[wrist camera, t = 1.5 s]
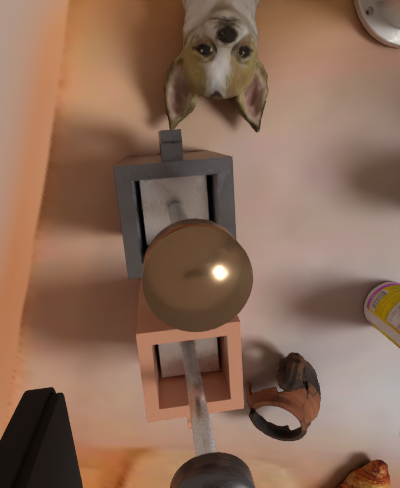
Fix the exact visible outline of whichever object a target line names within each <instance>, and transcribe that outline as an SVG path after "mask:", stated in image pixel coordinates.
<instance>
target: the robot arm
mask: <svg viewBox="0 0 400 488" xmlns="http://www.w3.org/2000/svg"><path fill="white" fill-rule="evenodd" d="M354 5H355V8H356V12H357V15H358V17H359V19H360V21H361V23H362V25H363V27H364V28H365V29H366V30H367V32H368V33H369V34H370V35H371V36H372V37H374V38H375V39H376V40H377V41H379V42H381V43H383V44H385V45H387V46H390V47H394V48H400V0H354ZM366 12H367V14H366ZM0 488H83V486H82V480H81V475H80V471H79V466H78V461H77V456H76V451H75V446H74V441H73V436H72V431H71V426H70V422H69V417H68V412H67V407H66V402H65V397H64V395H63V393H56V392H55V390H54V388H53V387H49V388H42V389H35V390H27V391H25V393H24V394H23V396H22V398H21V400H20V402H19V404H18V406H17V408H16V410H15V412H14V414H13V416H12V418H11V420H10V422H9V424H8V426H7V428H6V430H5V432H4V434H3V436H2V438H1V440H0Z"/></svg>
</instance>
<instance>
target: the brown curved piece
mask: <svg viewBox="0 0 400 488" xmlns="http://www.w3.org/2000/svg"><path fill="white" fill-rule="evenodd" d="M279 364H280V368H279V370H278V374H277V381H278V385H279V387H280V388H281V389H283V390H284V391H282V392H278V390H277V388H276V387H272V388H268V389H263V390H261V391H257V392H254V393H253V394H252V392H251V383H250V382H248V384H247V394H246V397H247V402H248V405H249V408H250V410H251V411H250V413H249V417H250V420H251V421H252V423H253V424H254V426H255V427H256V428H257V429H259V430H260V431H262V432H263V433H264V434H266V435H267V436H270V437H272V438H274V439H278V440H281V441H295V440H299V439H301V438H302V437H303V436H304V435H305V434H306V432H307V428H308V427H309V425H310V424H311V422H312V421H313V420H314V419H315V418H316V417H317V415H318V412H319V409H320V401H321V396H320V395H321V393H320V386H319V383H318V380H317V375H316V372H315V370H314V368H313V367H312V366H311V364H310V363H308V362H307V361H306V360H304V358H303V357H302V356H301V355H300V354H299V353H293V352H292V353H290V354H288V356H287V357H285V358H282V359H280V362H279ZM303 382H305V385H306V389H305V388H304V387H303ZM262 406H277V407H280V408H283V409H285V410H287V411H289V412H290V413H292V414H293V415H294V416H295V417H296V418H297V419H298V420H299V421H300V424H301V427H299V428H297V429H295V430H290V429H289V426H288V425H286V426H277V425H275V424H273V423H270V422H267V421H266V420H265V419H264V418H263V417H262V416H260V415H259V414H258V413H257V412H256V409H258V408H260V407H262Z"/></svg>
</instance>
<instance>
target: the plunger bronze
mask: <svg viewBox="0 0 400 488" xmlns="http://www.w3.org/2000/svg"><path fill="white" fill-rule="evenodd" d="M140 189H141V198H142V207H143V215H144V224H145V233H146V241H147V244H150V245H149V247H148V249H147V251H146V254H145V258H144V265H143V279H142V285H143V293H144V297H145V299H146V302H147V304H148V306H149V308H150V309H151V311H152V312H153V313H154V314H155V315H156V317H157V318H159V319H160V320H161V321H162V322H164V323H165V324H167V325H168V326H170V327H173V328H175V329H178V330H181V331H187V332H204V331H209V330H213V329H216V328H218V327H220V326H223V325H224V324H226V323H228V322H229V321H230V320H232V319H233V318H234V317H235V316H236V315H237V314H238V313H239V312H240V311H241V310H242V309H243V307H244V306H245V304H246V302H247V300H248V298H249V296H250V293H251V289H252V284H253V272H252V267H251V263H250V260H249V258H248V256H247V254H246V252H245V250H244V249H243V248H242V247H241V245H240V244H239V243H238V242H237V240H236V239H235V238H234V237H233V235H232V234H231V233H230V232H229V231H228V230H227V229H225V228H224V227H222V226H221V225H219V224H217V223H215V222H212V221H210V220H209V212H208V197H207V182H206V175H198V176H187V177H175V178H163V179H151V180H140Z"/></svg>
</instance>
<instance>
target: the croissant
mask: <svg viewBox="0 0 400 488" xmlns="http://www.w3.org/2000/svg"><path fill="white" fill-rule="evenodd" d="M389 485H390V476H389V473H388V465H387V464H386V463H385V462H383V461H382V460H373V461H371V462H369V463H368V464H367V465H365V466H363V467H362V468H359V469H356V470H354V471H353V472H351V473H350V474H349V475H348V476H347V478H346V479H345V480H344V482H343V483H342V484H340V485H339V486H338V487H337V488H389Z"/></svg>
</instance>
